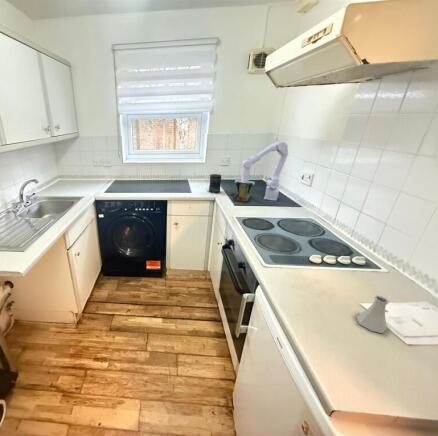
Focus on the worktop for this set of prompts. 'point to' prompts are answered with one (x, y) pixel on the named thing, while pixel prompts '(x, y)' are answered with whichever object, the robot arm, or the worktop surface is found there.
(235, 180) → the robot arm
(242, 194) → the olive door knob
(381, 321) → the flask
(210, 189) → the storage jar
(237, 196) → the shelf
